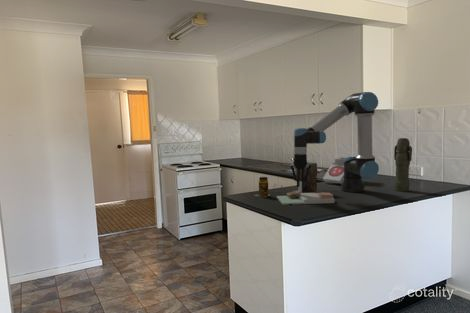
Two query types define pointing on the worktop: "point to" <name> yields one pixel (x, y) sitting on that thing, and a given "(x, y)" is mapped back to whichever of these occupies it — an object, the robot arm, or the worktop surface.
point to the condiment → (263, 187)
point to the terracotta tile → (325, 195)
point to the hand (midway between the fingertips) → (299, 192)
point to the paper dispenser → (335, 171)
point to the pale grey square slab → (314, 198)
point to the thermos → (402, 164)
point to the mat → (289, 200)
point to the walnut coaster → (293, 194)
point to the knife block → (310, 179)
